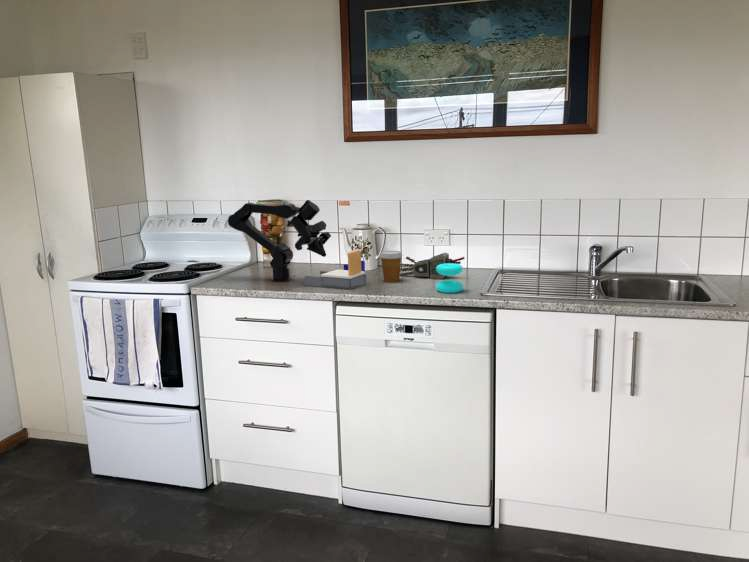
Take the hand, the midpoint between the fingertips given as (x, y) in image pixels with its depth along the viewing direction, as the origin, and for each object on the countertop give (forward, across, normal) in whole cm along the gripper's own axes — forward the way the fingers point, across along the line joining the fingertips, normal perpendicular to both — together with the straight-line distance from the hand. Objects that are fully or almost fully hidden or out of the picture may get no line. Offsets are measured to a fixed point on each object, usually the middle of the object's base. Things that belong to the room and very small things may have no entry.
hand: (325, 256), depth 244 cm
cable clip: (+10, +18, +7) cm, 22 cm away
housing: (+12, -1, +4) cm, 13 cm away
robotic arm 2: (+32, +28, -17) cm, 46 cm away
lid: (+12, -1, -2) cm, 12 cm away
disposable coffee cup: (+24, +15, -8) cm, 30 cm away
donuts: (+45, +7, -30) cm, 54 cm away
